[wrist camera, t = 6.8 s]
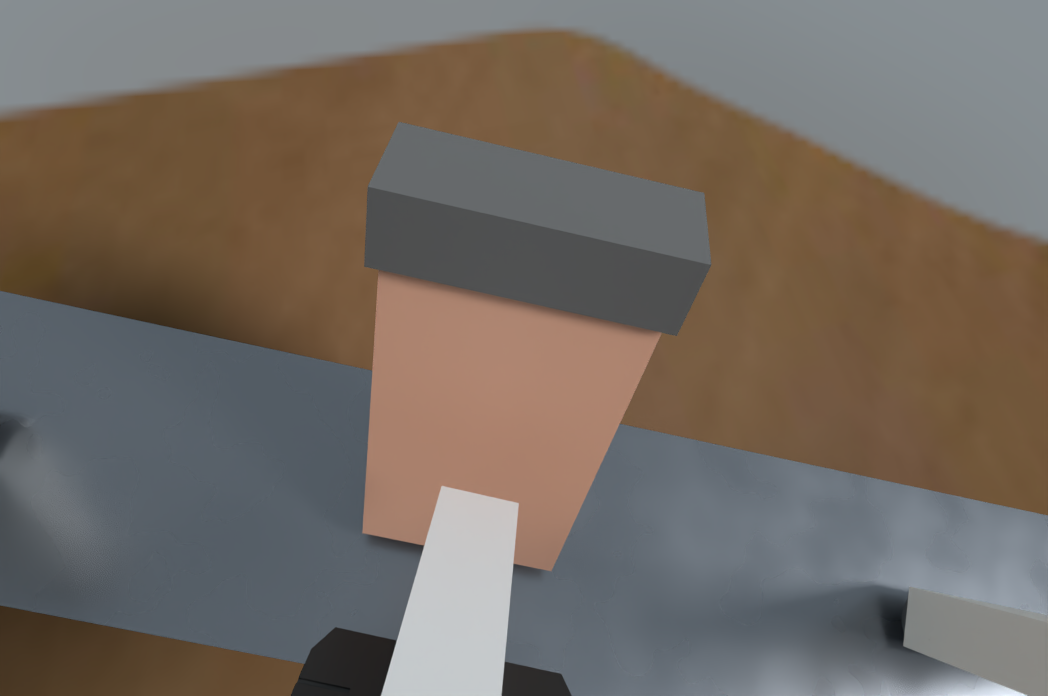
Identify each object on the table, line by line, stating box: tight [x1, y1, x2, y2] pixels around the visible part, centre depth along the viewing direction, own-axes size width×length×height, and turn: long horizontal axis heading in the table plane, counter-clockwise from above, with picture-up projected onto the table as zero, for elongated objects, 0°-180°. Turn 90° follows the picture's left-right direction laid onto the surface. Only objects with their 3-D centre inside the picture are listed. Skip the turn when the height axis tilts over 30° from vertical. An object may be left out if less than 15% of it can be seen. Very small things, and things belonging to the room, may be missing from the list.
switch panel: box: [0, 291, 1048, 696], centre depth 22 cm, size 8×36×3 cm, turn 80°
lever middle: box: [362, 122, 711, 571], centre depth 16 cm, size 2×5×11 cm, turn 80°
